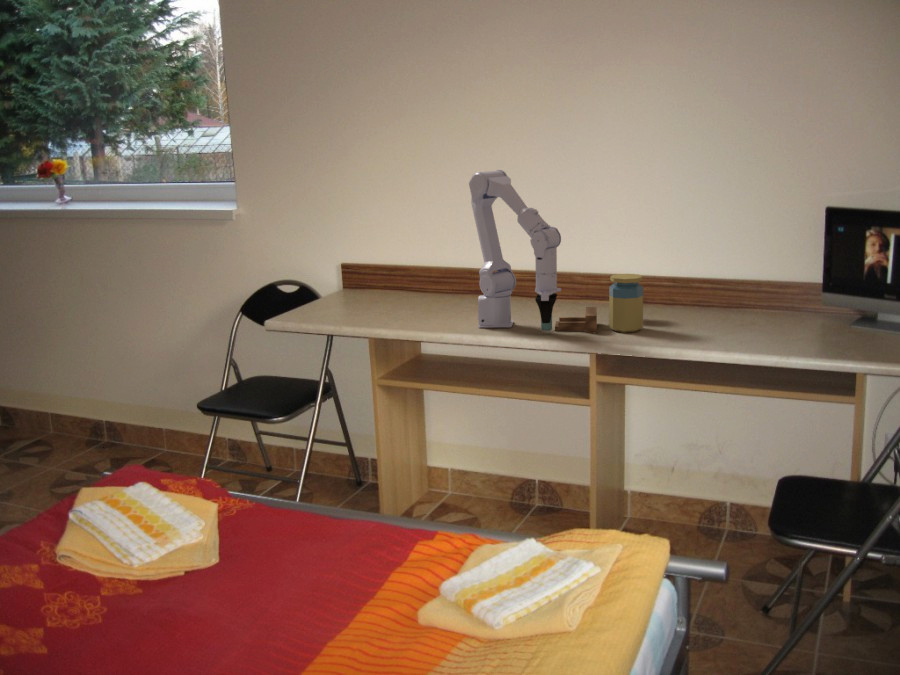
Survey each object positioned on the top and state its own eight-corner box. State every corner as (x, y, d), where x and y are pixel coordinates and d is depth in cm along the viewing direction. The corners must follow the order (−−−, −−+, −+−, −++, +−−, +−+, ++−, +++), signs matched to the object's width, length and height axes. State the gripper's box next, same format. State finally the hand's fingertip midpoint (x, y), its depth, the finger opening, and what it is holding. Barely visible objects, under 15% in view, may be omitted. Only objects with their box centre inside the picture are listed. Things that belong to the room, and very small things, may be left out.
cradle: (554, 332, 258) (554, 316, 257) (556, 323, 269) (556, 307, 268) (596, 332, 256) (596, 315, 255) (596, 323, 268) (596, 306, 266)
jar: (641, 334, 253) (642, 279, 250) (607, 333, 255) (607, 279, 252) (644, 326, 262) (644, 273, 258) (611, 325, 264) (611, 273, 261)
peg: (540, 330, 256) (540, 300, 254) (541, 328, 259) (541, 298, 257) (551, 330, 255) (551, 300, 253) (552, 328, 258) (552, 298, 256)
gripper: (559, 277, 246) (560, 327, 249) (562, 268, 260) (562, 315, 263) (533, 277, 247) (533, 327, 250) (536, 268, 261) (537, 315, 264)
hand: (546, 321), depth 256 cm, fingers closed on peg, 3 cm apart
